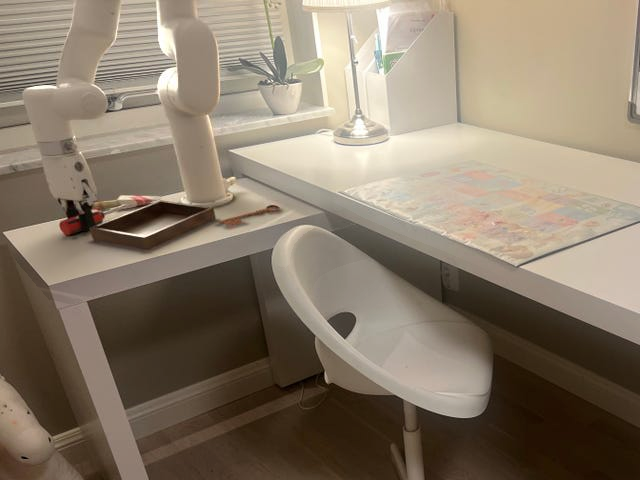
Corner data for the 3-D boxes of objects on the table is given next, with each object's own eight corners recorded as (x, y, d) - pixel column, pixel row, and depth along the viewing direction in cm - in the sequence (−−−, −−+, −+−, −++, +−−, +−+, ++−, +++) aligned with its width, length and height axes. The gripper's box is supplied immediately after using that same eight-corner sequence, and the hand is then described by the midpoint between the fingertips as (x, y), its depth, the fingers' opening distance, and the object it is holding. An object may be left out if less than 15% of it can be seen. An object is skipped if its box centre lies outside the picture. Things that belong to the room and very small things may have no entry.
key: (227, 229, 166) (286, 213, 174) (226, 226, 165) (286, 210, 174) (216, 221, 170) (275, 206, 178) (215, 218, 169) (274, 202, 177)
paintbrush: (158, 194, 180) (72, 205, 177) (161, 205, 181) (76, 216, 178) (160, 189, 183) (76, 200, 180) (164, 200, 184) (80, 211, 181)
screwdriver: (123, 211, 177) (118, 199, 176) (132, 212, 176) (128, 199, 174) (62, 234, 164) (57, 221, 162) (71, 235, 163) (66, 221, 161)
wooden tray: (164, 212, 177) (160, 199, 175) (216, 220, 171) (213, 207, 169) (93, 241, 161) (89, 227, 159) (148, 251, 155) (144, 237, 153)
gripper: (99, 146, 157) (122, 227, 167) (48, 140, 164) (72, 218, 173) (69, 154, 152) (95, 238, 161) (17, 147, 158) (44, 228, 167)
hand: (83, 227), depth 167 cm, fingers closed on screwdriver, 3 cm apart
